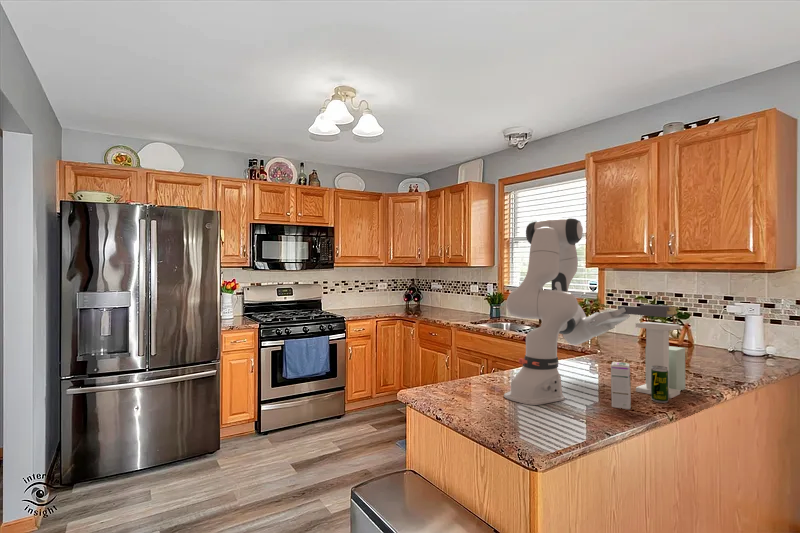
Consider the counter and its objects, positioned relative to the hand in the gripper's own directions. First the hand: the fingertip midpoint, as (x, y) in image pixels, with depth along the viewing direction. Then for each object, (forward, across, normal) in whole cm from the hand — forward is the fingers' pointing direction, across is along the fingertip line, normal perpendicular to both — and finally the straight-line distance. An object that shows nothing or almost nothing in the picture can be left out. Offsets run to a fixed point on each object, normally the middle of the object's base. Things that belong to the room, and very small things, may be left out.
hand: (628, 308), depth 173 cm
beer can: (-2, -10, +35) cm, 37 cm away
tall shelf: (-6, 0, +32) cm, 33 cm away
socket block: (-7, +10, +32) cm, 34 cm away
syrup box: (-7, -28, +32) cm, 43 cm away
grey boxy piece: (+5, 0, +5) cm, 7 cm away
